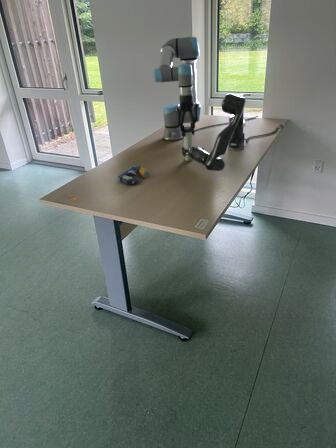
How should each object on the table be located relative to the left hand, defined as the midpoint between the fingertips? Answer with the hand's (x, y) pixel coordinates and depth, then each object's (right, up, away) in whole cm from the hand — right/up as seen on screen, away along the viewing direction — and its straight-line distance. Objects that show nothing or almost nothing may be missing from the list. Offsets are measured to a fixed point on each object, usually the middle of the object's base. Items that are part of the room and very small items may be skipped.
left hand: (187, 135), depth 200 cm
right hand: (0, -6, +7) cm, 9 cm away
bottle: (+1, -13, +8) cm, 15 cm away
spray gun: (-31, -27, -11) cm, 42 cm away
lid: (0, +3, -2) cm, 4 cm away
